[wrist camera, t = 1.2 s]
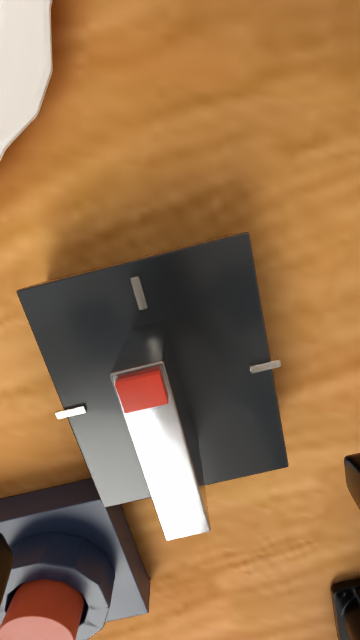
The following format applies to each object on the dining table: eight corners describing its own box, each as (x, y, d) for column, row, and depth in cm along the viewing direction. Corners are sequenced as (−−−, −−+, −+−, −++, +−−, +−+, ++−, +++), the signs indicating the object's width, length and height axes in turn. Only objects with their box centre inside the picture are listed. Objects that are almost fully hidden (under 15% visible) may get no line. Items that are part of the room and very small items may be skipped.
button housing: (150, 582, 21) (146, 648, 17) (32, 607, 21) (6, 677, 18) (109, 473, 18) (94, 527, 15) (-25, 504, 18) (-69, 563, 15)
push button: (93, 617, 17) (84, 658, 15) (29, 630, 17) (14, 673, 15) (70, 570, 16) (58, 609, 14) (2, 585, 16) (-18, 625, 14)
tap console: (275, 429, 18) (297, 468, 14) (108, 467, 18) (96, 513, 15) (240, 231, 14) (258, 229, 11) (39, 282, 15) (4, 293, 12)
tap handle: (198, 442, 14) (212, 539, 9) (167, 449, 14) (165, 549, 10) (165, 319, 12) (162, 364, 8) (130, 328, 12) (106, 378, 8)
